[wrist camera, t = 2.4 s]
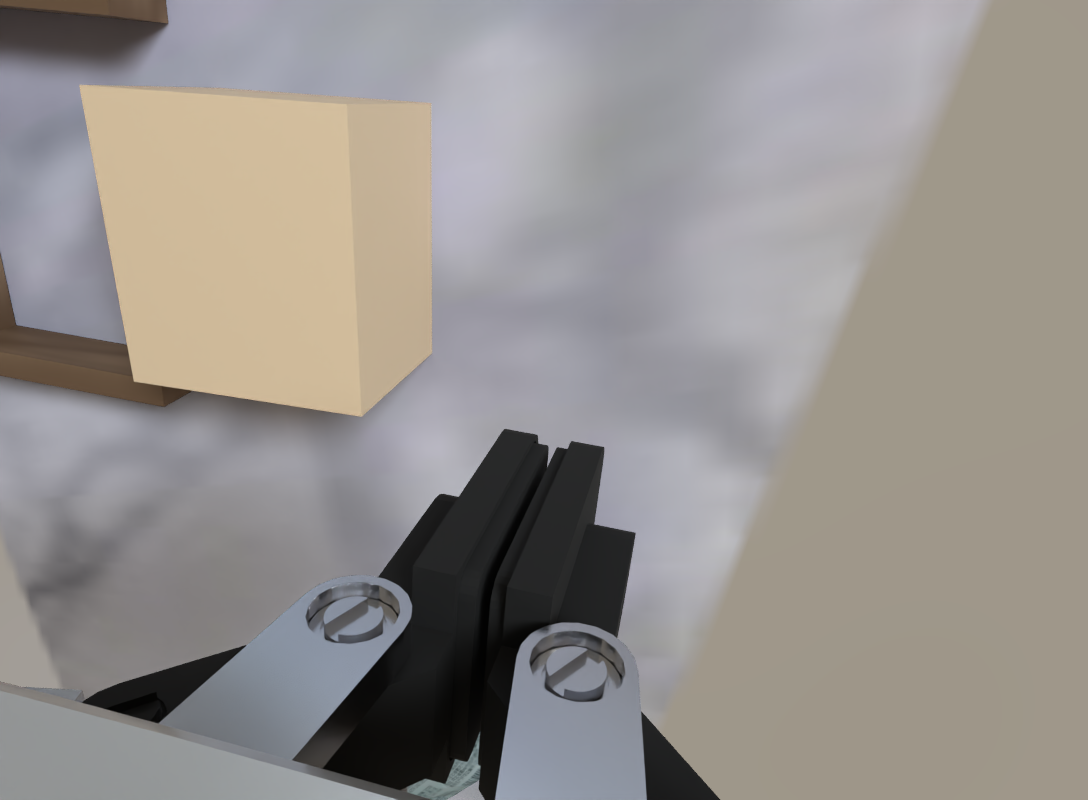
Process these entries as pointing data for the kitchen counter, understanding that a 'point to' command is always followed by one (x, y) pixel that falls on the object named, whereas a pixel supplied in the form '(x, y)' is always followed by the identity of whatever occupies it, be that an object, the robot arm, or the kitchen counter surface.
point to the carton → (267, 239)
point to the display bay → (61, 354)
